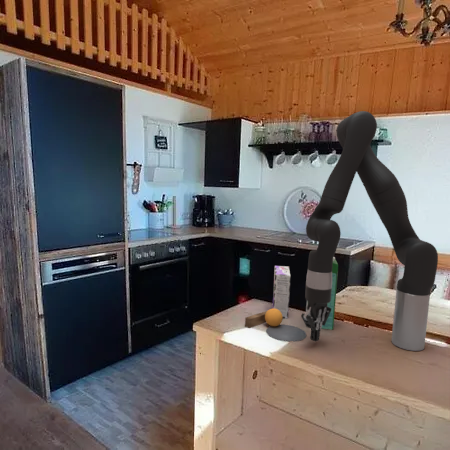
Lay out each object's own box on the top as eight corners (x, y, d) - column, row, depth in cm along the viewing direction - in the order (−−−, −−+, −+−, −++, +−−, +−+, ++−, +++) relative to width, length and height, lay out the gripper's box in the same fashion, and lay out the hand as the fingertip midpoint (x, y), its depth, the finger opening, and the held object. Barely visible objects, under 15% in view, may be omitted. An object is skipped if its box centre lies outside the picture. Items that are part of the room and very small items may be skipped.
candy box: (272, 305, 145) (274, 265, 143) (287, 306, 144) (289, 266, 142) (272, 317, 131) (274, 273, 129) (288, 318, 130) (291, 274, 128)
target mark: (282, 322, 127) (282, 321, 127) (314, 334, 117) (314, 333, 117) (257, 331, 118) (257, 330, 118) (289, 345, 109) (289, 344, 109)
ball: (274, 323, 127) (272, 306, 127) (287, 325, 122) (285, 307, 123) (262, 327, 123) (260, 309, 123) (275, 329, 118) (273, 311, 119)
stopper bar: (271, 317, 131) (272, 309, 131) (276, 318, 130) (276, 310, 129) (245, 326, 122) (245, 317, 122) (249, 328, 120) (249, 319, 120)
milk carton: (333, 330, 122) (339, 257, 119) (306, 326, 123) (311, 255, 120) (330, 320, 130) (336, 252, 128) (305, 317, 132) (310, 250, 129)
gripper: (316, 291, 100) (312, 350, 102) (341, 284, 109) (337, 338, 111) (295, 285, 106) (291, 341, 108) (320, 278, 115) (316, 330, 117)
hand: (314, 340), depth 109 cm, fingers closed
